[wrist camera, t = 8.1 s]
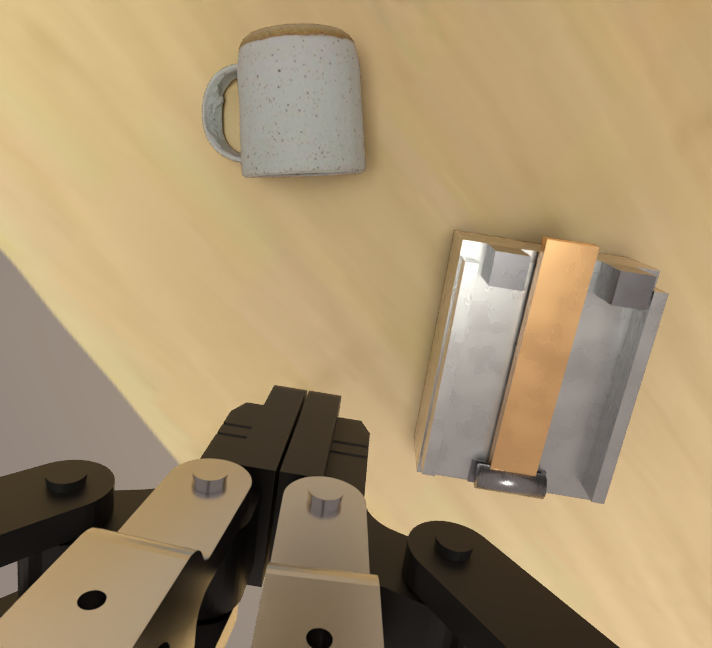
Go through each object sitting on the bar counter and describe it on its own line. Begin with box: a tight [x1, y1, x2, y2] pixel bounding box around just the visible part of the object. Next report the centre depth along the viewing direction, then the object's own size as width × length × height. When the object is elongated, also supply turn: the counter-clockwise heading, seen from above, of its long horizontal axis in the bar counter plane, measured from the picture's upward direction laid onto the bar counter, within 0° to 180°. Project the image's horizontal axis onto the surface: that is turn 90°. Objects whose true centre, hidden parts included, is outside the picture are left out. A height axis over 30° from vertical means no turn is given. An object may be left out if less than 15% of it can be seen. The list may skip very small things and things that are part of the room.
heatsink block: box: [414, 230, 668, 504], centre depth 38 cm, size 16×12×8 cm
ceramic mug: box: [202, 24, 366, 178], centre depth 35 cm, size 11×8×8 cm
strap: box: [474, 237, 600, 499], centre depth 36 cm, size 17×4×2 cm, turn 171°
